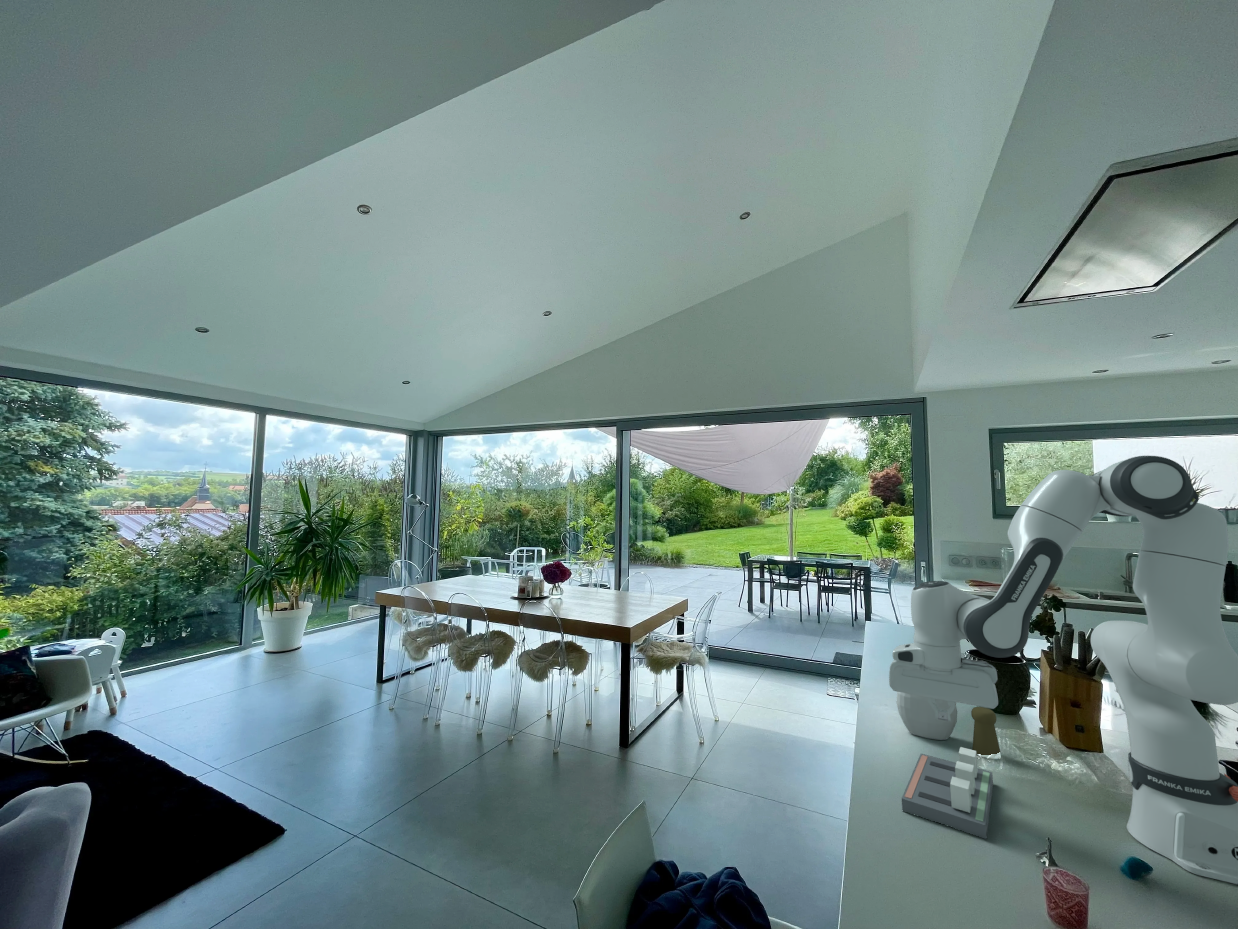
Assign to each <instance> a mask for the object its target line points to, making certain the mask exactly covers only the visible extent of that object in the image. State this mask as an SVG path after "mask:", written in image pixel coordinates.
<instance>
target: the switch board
mask: <svg viewBox="0 0 1238 929" xmlns="http://www.w3.org/2000/svg"><path fill="white" fill-rule="evenodd" d="M956 762H957V761H956ZM956 762H955V761H951V760H949V759H948V760H947V759H944V758H940V757H936V756H934V755H933V756H932V755H929V754H925V753H920V755H919V756H918V758H917V761H916V763H915V765H914V769H913V770H912V773H911V776H910V778H909V780H908V783H907V785H906V788H905V789H904V792H903V794H902V797H901V811H902V810H903V811H905V812H904V813H906V812H909V813H911V814H910V815H912V814H915V815H918V816H921V817H923V818H922V819H924V818H927V819H930V820H932V821H931V822H933V821H935V822H934V823H936V822H939V823H941V824H940V825H942V824H945V825H948V826H952V827H954V828H956V829H955V830H957V829H959V830H958V831H960V830H962V831H961V832H963V831H964V833H967V834H969V833H970V835H972V834H973V835H972V836H975V835H976V837H978V836H979V838H982V839H984V840H987V838H988V828H989V821H990V812H991V804H992V796H993V788H994V777H993V771H990V770H986V769H982V768H978V773H977V778H975V792H974V794H971V802H972V805H971V811H970V813H969V812H966V811H962V810H959V809H956V808H953V807H952V803H951V790H950V783H951V779H952V776H953V777H956V774H955V766H956ZM903 811H902V812H903ZM909 813H908V814H909ZM915 815H914V816H915ZM918 816H917V817H918ZM921 817H920V818H921ZM927 819H926V820H927ZM930 820H929V821H930ZM939 823H938V824H939ZM945 825H944V826H945ZM948 826H947V827H948ZM954 828H953V829H954Z"/></svg>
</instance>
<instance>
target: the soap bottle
mask: <svg viewBox="0 0 1238 929" xmlns="http://www.w3.org/2000/svg"><path fill="white" fill-rule="evenodd" d="M895 702H896V706H897V711H898V714H899V717H900V718H901V720H902V722H903V724H904V727H905V728H906V729H907V731H908V733H910V734H912V735H914V736H917V737H921V738H926V739H929V740H937V741H943V740H948V739H949V738H950V737H951V736H952V734H953V731H954V730H955V727H956V724H957V721H958V708H957V706H956V707H955V708H954V710H953V711H952V713H951V715H952V721H951V722H950V721H946V720H941V719H936V718H935V711H934V710H933V708H932V707H931V705H930V704H929V702H928V697H924V696H919V695H913V694H908V693H902V692H896V700H895ZM935 703H936V704H937V706H938V708H939V709H943V710H948V709H949V707H950V706H948V702H947V701H946V700H941V699H937V700H936V702H935Z"/></svg>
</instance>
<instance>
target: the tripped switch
mask: <svg viewBox="0 0 1238 929" xmlns="http://www.w3.org/2000/svg"><path fill="white" fill-rule="evenodd" d="M955 774H956V778H960V779H963V780H967V781H970V789H971V794H974V792H975V776H974V765H970V764H967V763H963V762H959V760H957V761H956V766H955Z"/></svg>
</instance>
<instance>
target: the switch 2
mask: <svg viewBox="0 0 1238 929" xmlns="http://www.w3.org/2000/svg"><path fill="white" fill-rule="evenodd" d="M950 790H951V803H952V807H953V808H956V809H959V810H962V811H966V812H969V813H970V811H971V805H972V802H971V789H970V781H967V780H963V779H960V778H956V777H953V776H952V779H951V783H950Z"/></svg>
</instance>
